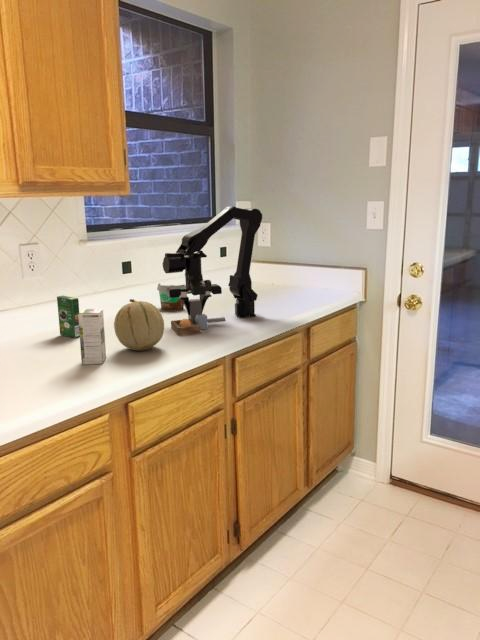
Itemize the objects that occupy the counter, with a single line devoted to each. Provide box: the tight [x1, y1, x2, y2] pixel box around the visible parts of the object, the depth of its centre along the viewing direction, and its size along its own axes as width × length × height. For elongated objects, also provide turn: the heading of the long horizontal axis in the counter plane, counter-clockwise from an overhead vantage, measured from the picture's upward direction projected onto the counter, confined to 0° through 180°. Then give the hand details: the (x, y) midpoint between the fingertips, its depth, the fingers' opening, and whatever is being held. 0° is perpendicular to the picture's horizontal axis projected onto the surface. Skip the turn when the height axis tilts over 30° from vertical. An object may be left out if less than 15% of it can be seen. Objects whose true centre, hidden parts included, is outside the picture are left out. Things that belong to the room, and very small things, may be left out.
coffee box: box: [56, 295, 80, 339], centre depth 174 cm, size 8×3×13 cm, turn 54°
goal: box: [170, 318, 202, 336], centre depth 180 cm, size 8×11×2 cm
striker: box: [187, 298, 208, 330], centre depth 185 cm, size 4×12×8 cm, turn 19°
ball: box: [179, 318, 191, 327], centre depth 179 cm, size 4×4×4 cm
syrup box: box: [78, 307, 107, 366], centre depth 146 cm, size 6×6×14 cm
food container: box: [156, 282, 186, 312], centre depth 213 cm, size 12×6×10 cm, turn 68°
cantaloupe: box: [113, 298, 165, 352], centre depth 157 cm, size 15×15×15 cm
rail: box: [193, 316, 226, 325], centre depth 191 cm, size 15×1×1 cm, turn 109°
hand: (195, 314), depth 189 cm, fingers closed on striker, 4 cm apart
